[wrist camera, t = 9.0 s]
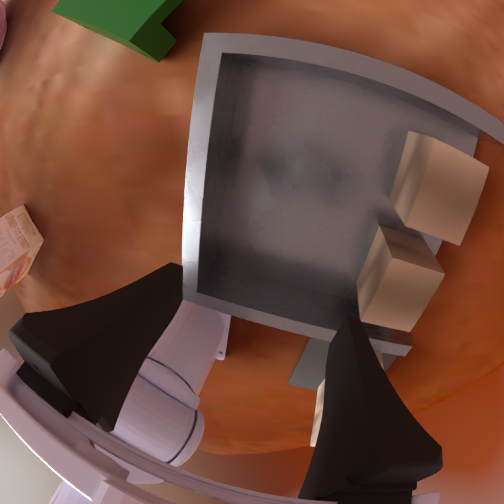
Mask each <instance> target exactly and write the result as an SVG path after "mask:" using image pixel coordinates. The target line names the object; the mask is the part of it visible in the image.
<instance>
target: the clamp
mask: <svg viewBox="0 0 504 504" xmlns="http://www.w3.org/2000/svg"><path fill="white" fill-rule="evenodd" d="M182 1H183V0H60V1H59V2H58V3H57V4H56V6H55V7H54V8H53V10H52V12H54V13H57V14H59V15H61V16H63V17H65V18H67V19H69V20H71V21H73V22H75V23H77V24H79V25H81V26H83V27H85V28H87V29H89V30H92V31H94V32H96V33H99V34H101V35H103V36H105V37H108V38H110V39H112V40H114V41H116V42H118V43H120V44H123V45H125V46H127V47H129V48H131V49H133V50H135V51H137V52H139V53H141V54H142V55H144V56H146V57H148V58H150V59H152V60H154V61H156V62H158V63H159V62H160V61H161V60H162V58H163V57H164V56H165V55H166V54H167V52H168V51H169V50H170V49H171V48H172V47H173V45H174V44H175V43H176V42H177V40H176V39H175V38H174V37H173V36H172V35H171V34H170V33H169V32H168V31H167V30H166V29H165V28H164V27H163V26H162V25H161V23H162V22H163V21H164V19H165V18H166V17H167V16H168V15H169V14H170V13H171V12H172V11H173V10H174V9H175V8H176V7H177V6H178V5H179V4H180V3H181V2H182Z"/></svg>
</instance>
